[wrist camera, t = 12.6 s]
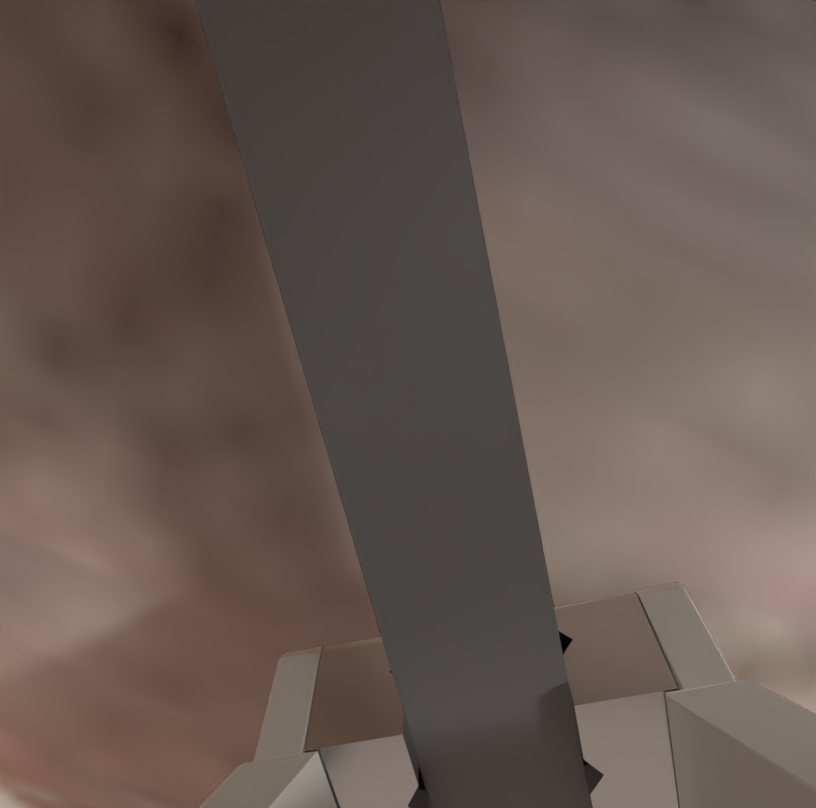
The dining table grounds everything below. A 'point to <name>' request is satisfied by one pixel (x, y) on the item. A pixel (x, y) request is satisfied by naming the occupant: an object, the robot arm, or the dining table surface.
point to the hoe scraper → (407, 375)
